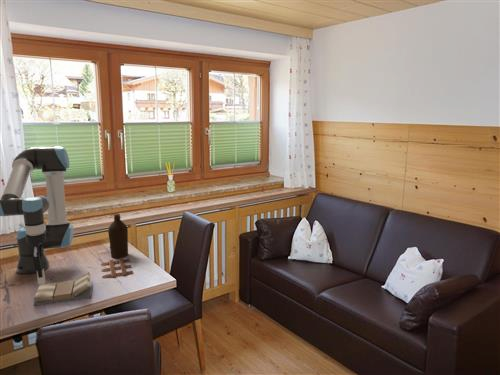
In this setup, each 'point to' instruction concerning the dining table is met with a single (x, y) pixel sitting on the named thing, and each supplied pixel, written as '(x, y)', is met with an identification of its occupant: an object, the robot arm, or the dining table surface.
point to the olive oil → (118, 238)
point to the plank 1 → (45, 292)
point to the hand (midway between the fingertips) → (41, 282)
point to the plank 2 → (81, 283)
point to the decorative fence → (116, 268)
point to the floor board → (80, 296)
